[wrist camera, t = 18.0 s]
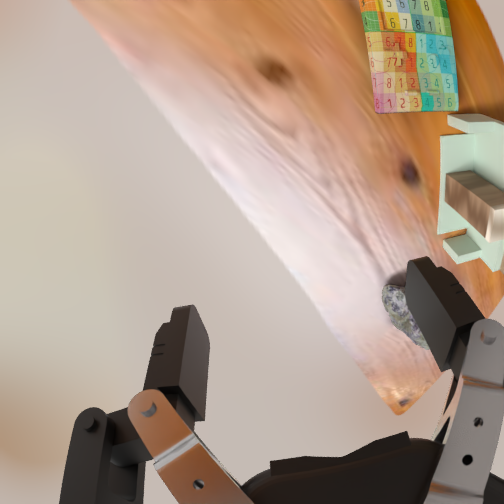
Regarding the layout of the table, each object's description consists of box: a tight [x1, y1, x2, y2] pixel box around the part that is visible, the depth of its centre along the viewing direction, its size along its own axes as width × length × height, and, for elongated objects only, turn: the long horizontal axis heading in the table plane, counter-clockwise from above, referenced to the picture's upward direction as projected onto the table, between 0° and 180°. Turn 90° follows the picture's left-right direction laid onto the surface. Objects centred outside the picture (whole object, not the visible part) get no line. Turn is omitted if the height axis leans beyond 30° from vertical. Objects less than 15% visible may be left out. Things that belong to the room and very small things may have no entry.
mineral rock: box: [382, 285, 430, 350], centre depth 48 cm, size 13×11×10 cm
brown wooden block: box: [444, 170, 504, 243], centre depth 35 cm, size 5×5×12 cm
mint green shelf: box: [437, 114, 504, 274], centre depth 36 cm, size 22×9×10 cm, turn 13°
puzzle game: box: [359, 0, 459, 114], centre depth 28 cm, size 12×5×20 cm
